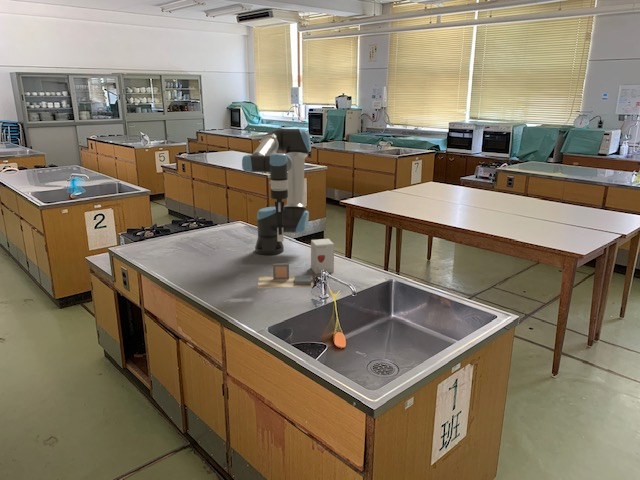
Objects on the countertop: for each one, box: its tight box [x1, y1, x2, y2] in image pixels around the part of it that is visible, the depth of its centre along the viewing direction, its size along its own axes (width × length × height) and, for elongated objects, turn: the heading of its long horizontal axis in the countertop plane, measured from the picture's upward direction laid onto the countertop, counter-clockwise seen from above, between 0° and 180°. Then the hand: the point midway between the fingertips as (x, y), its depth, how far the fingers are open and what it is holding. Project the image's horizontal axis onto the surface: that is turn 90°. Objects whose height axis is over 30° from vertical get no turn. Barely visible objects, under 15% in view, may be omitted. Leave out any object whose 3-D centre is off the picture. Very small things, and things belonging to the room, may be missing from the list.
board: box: [257, 274, 314, 289], centre depth 215 cm, size 14×24×1 cm, turn 93°
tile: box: [272, 262, 290, 280], centre depth 217 cm, size 2×7×7 cm, turn 93°
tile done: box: [294, 274, 312, 285], centre depth 214 cm, size 7×7×2 cm
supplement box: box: [310, 238, 335, 274], centre depth 228 cm, size 9×9×15 cm
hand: (280, 240), depth 221 cm, fingers closed
